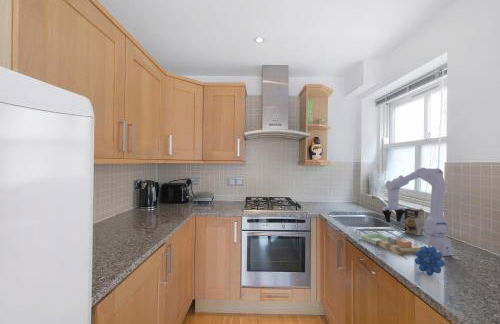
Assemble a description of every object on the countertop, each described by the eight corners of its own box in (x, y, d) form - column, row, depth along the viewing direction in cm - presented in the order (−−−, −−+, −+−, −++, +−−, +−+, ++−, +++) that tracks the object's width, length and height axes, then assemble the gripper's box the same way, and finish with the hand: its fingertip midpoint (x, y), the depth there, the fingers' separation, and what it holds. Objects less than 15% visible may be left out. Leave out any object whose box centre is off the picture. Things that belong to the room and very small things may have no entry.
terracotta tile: (411, 246, 128) (411, 241, 128) (403, 247, 127) (403, 242, 127) (403, 243, 133) (403, 239, 133) (395, 244, 132) (395, 239, 132)
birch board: (420, 253, 127) (420, 247, 127) (401, 255, 124) (401, 249, 124) (395, 243, 142) (395, 238, 142) (377, 245, 139) (377, 240, 139)
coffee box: (404, 232, 168) (403, 208, 169) (410, 231, 171) (409, 207, 171) (418, 235, 160) (417, 210, 160) (424, 234, 163) (423, 209, 163)
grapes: (451, 279, 98) (451, 248, 98) (440, 281, 95) (440, 250, 95) (422, 267, 108) (422, 240, 109) (411, 270, 106) (411, 241, 106)
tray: (395, 243, 143) (395, 239, 143) (375, 245, 140) (375, 240, 140) (379, 237, 155) (378, 233, 156) (360, 238, 152) (360, 234, 152)
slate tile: (402, 243, 133) (402, 238, 133) (395, 244, 132) (395, 239, 132) (395, 240, 138) (395, 236, 138) (387, 241, 137) (387, 236, 137)
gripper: (397, 198, 160) (398, 220, 160) (378, 199, 157) (378, 221, 157) (407, 200, 153) (407, 222, 153) (386, 200, 150) (386, 223, 150)
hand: (393, 221), depth 154 cm, fingers open, 7 cm apart
